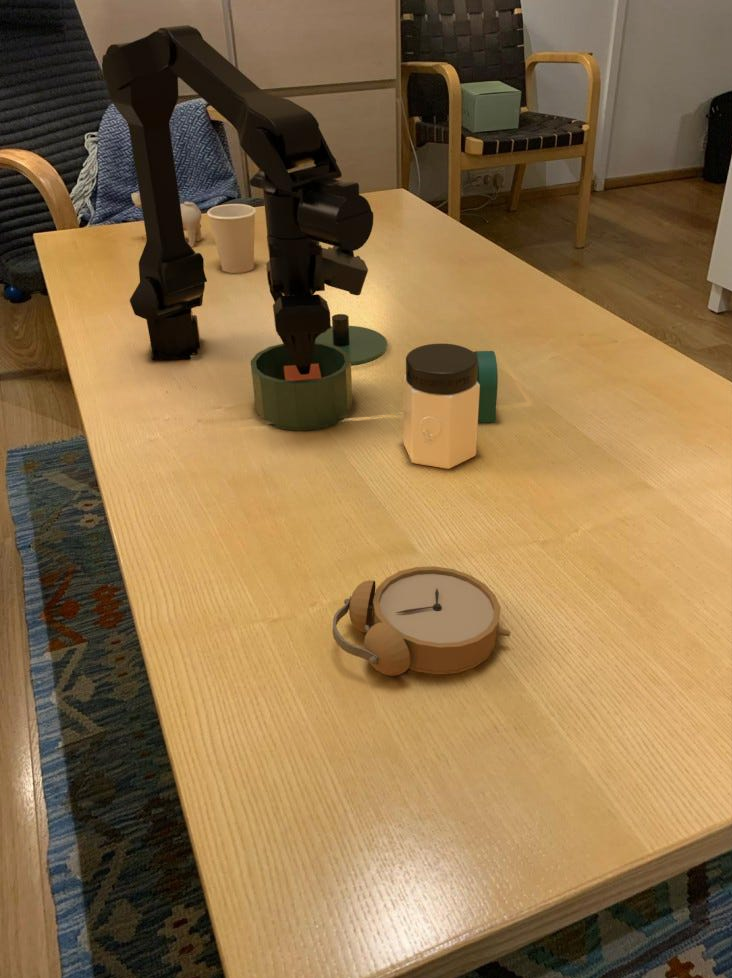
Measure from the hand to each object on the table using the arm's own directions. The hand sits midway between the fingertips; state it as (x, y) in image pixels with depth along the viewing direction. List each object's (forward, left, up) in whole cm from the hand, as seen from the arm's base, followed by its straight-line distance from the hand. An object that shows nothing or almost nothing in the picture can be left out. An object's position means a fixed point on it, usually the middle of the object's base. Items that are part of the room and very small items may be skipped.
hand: (301, 358), depth 110 cm
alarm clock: (+6, -46, -7) cm, 47 cm away
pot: (0, 0, -7) cm, 7 cm away
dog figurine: (-19, +73, -7) cm, 76 cm away
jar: (+15, -14, -7) cm, 22 cm away
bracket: (+21, +1, -7) cm, 22 cm away
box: (0, 0, -6) cm, 6 cm away
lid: (+7, +17, -6) cm, 20 cm away
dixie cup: (-7, +56, -7) cm, 57 cm away
